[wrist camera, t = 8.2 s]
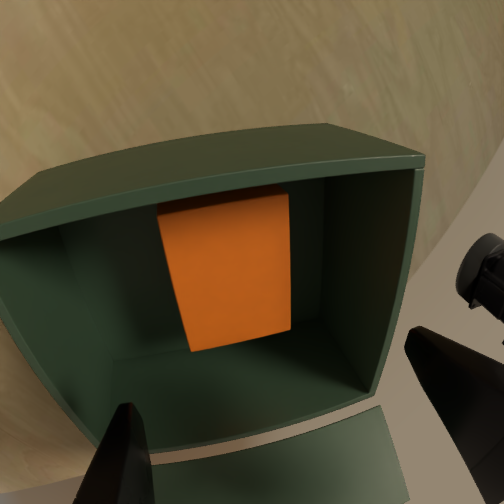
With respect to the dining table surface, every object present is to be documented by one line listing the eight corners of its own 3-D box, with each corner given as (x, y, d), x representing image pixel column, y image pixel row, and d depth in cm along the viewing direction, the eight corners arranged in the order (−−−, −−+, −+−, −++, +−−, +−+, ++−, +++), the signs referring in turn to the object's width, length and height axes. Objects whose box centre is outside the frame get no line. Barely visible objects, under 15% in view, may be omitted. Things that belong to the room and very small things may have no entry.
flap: (410, 500, 12) (407, 499, 12) (380, 404, 15) (377, 405, 15) (137, 570, 9) (139, 568, 9) (105, 468, 12) (108, 468, 13)
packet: (260, 168, 16) (289, 193, 12) (267, 286, 19) (291, 330, 16) (157, 185, 15) (156, 215, 11) (183, 303, 18) (190, 353, 15)
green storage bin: (327, 123, 16) (426, 154, 9) (322, 316, 22) (374, 395, 16) (38, 172, 13) (-38, 236, 7) (109, 361, 19) (105, 457, 13)
